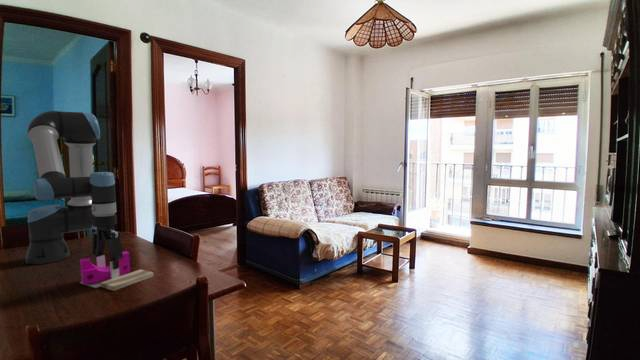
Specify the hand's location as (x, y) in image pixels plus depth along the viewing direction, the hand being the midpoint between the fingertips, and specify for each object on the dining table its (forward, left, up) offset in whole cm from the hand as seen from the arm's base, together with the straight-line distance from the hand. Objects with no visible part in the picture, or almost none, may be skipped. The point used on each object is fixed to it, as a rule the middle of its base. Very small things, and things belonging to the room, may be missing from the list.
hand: (108, 275), depth 125 cm
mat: (-1, 0, -2) cm, 2 cm away
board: (+8, +2, -2) cm, 9 cm away
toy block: (0, 0, -1) cm, 1 cm away
